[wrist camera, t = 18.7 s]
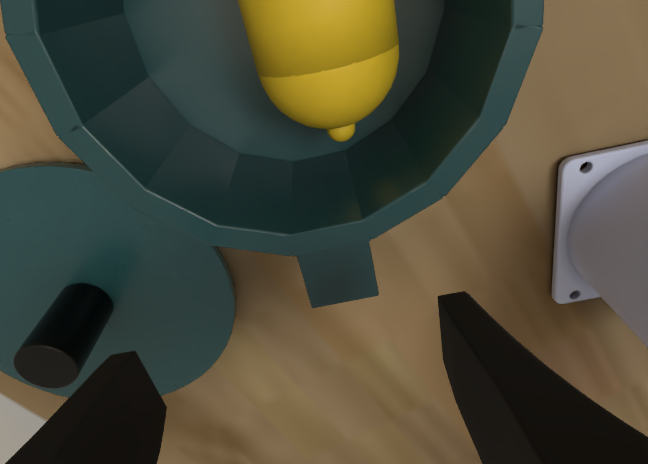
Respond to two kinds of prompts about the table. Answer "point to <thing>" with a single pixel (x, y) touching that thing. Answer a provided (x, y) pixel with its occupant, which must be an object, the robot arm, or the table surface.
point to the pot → (270, 122)
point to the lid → (102, 284)
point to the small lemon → (324, 58)
